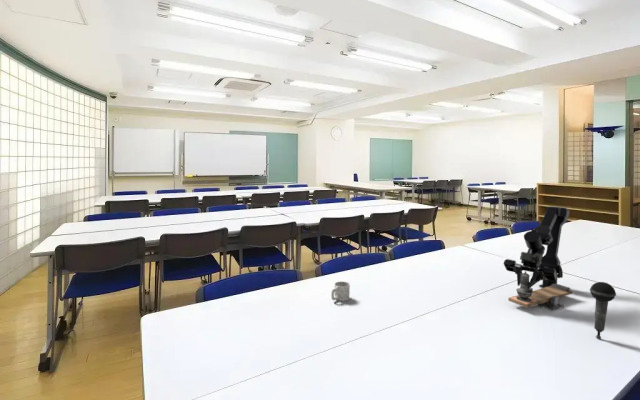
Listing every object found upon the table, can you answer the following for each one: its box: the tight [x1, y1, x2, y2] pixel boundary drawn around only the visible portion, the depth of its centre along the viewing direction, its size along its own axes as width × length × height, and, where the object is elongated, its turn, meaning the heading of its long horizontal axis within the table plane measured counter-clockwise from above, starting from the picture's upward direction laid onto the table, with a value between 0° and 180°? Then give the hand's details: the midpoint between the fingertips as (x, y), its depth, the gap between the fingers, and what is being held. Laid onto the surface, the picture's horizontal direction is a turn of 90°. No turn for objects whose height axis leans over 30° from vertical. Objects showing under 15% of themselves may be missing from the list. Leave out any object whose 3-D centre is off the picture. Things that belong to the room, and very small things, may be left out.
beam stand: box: [529, 287, 565, 312], centre depth 146 cm, size 8×14×5 cm, turn 26°
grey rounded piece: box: [516, 271, 533, 302], centre depth 140 cm, size 6×6×12 cm
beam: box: [507, 283, 574, 309], centre depth 145 cm, size 32×8×2 cm, turn 116°
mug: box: [330, 280, 351, 302], centre depth 150 cm, size 10×7×7 cm, turn 134°
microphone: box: [589, 281, 617, 340], centre depth 115 cm, size 7×7×20 cm
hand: (523, 286), depth 139 cm, fingers closed on grey rounded piece, 3 cm apart
